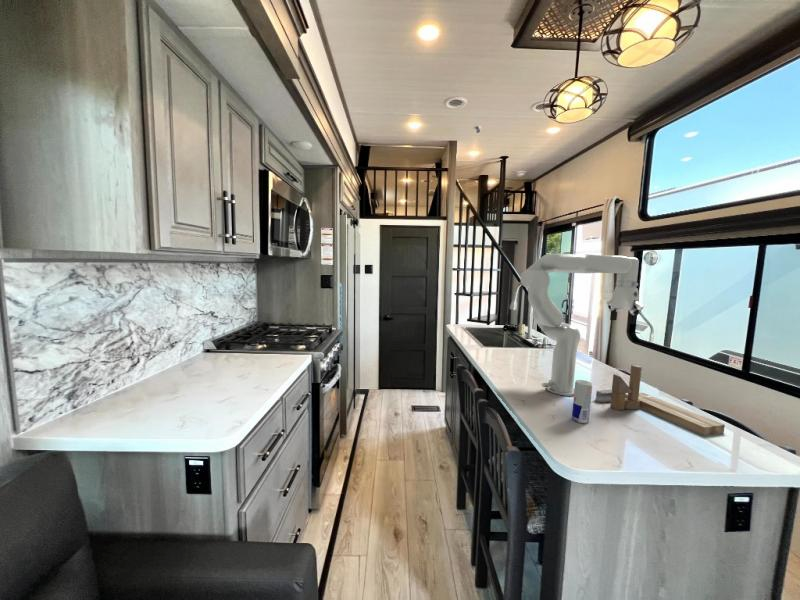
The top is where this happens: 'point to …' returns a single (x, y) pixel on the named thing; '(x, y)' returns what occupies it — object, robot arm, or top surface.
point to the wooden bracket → (626, 390)
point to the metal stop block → (604, 395)
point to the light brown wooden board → (680, 415)
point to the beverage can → (582, 401)
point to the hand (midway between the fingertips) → (622, 321)
